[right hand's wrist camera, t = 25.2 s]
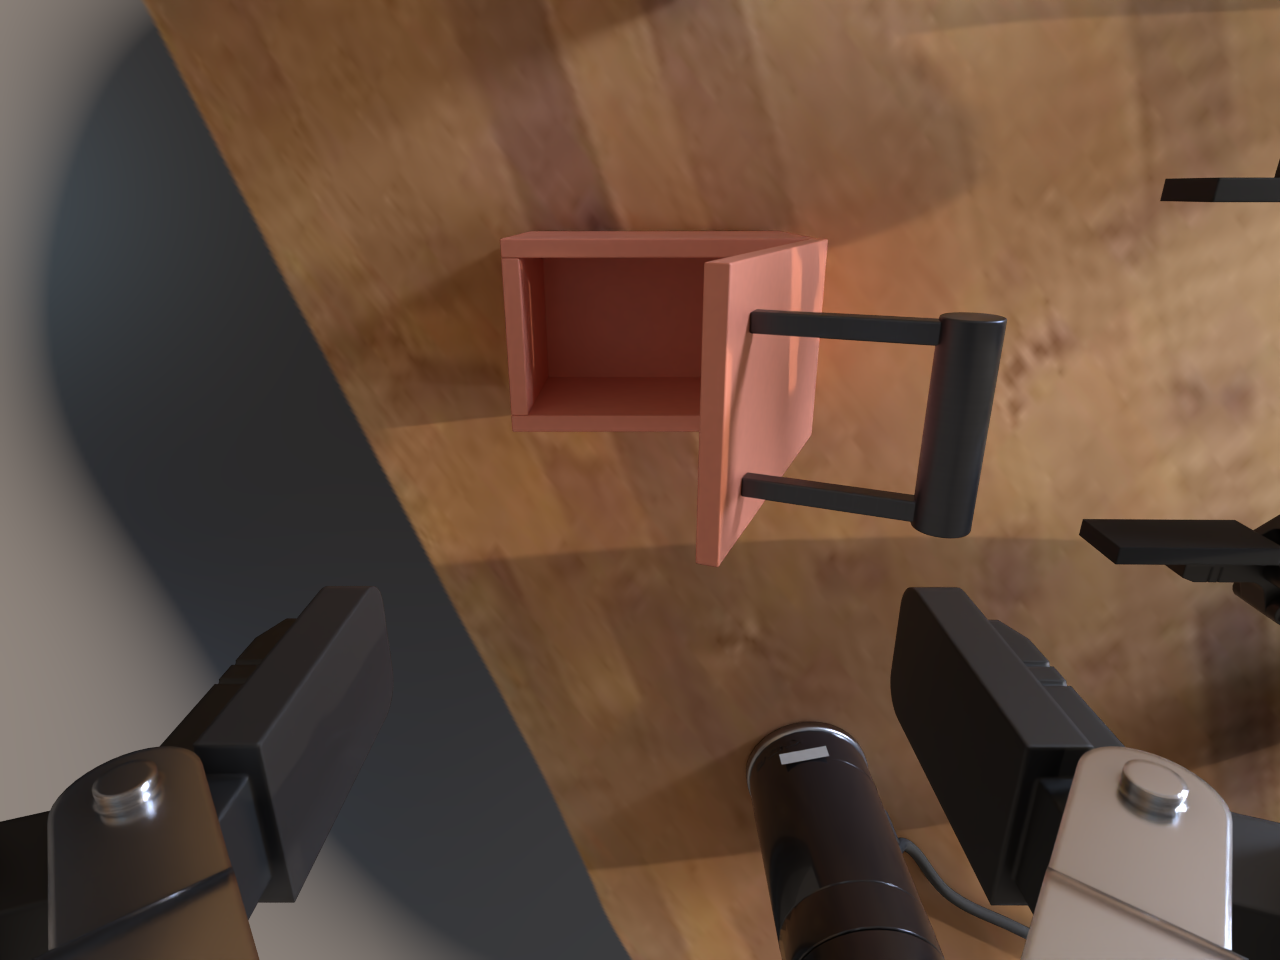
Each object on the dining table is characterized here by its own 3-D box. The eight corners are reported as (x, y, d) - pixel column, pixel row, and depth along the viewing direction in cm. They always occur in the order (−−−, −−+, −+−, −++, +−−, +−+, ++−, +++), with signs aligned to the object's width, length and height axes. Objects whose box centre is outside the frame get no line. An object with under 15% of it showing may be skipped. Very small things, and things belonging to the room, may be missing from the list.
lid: (694, 564, 24) (961, 614, 21) (703, 262, 21) (1022, 271, 18) (795, 433, 38) (966, 452, 35) (811, 238, 35) (1001, 241, 32)
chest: (537, 387, 47) (512, 432, 38) (529, 231, 44) (499, 238, 35) (770, 387, 47) (802, 431, 38) (780, 230, 44) (817, 238, 35)
